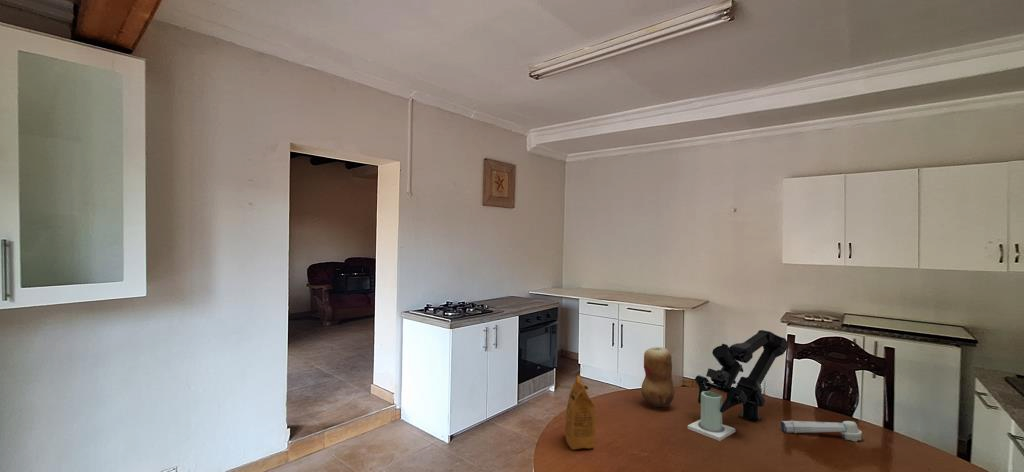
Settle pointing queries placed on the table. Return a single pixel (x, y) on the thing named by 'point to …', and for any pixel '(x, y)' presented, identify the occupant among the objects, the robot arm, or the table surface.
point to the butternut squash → (658, 377)
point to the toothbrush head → (823, 428)
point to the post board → (712, 434)
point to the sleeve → (711, 410)
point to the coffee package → (580, 418)
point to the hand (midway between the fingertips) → (709, 407)
